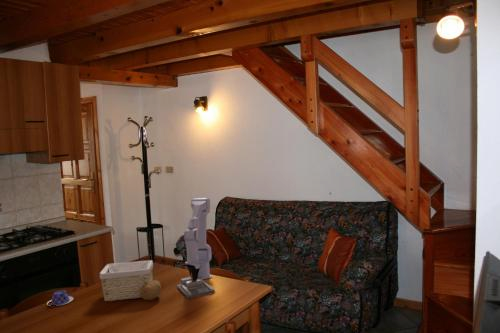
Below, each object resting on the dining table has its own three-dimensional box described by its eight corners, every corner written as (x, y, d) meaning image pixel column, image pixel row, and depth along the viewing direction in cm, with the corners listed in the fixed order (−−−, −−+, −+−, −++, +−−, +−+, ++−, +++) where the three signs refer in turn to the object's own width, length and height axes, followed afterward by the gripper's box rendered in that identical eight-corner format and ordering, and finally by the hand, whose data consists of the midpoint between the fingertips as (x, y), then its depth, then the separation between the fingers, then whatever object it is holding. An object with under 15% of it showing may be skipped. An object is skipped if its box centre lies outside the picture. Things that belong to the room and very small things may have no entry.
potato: (166, 292, 202) (165, 277, 201) (156, 304, 188) (155, 287, 187) (147, 292, 203) (146, 277, 202) (136, 304, 189) (135, 287, 188)
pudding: (63, 308, 190) (62, 297, 190) (41, 307, 193) (40, 296, 192) (78, 297, 202) (77, 287, 202) (58, 297, 204) (57, 287, 204)
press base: (177, 287, 208) (176, 279, 208) (202, 282, 214) (202, 273, 214) (187, 299, 192) (186, 289, 192) (214, 292, 198) (214, 283, 198)
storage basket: (100, 303, 193) (98, 273, 192) (109, 290, 209) (106, 263, 208) (150, 298, 195) (148, 269, 194) (155, 286, 211) (153, 259, 210)
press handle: (186, 286, 203) (185, 272, 203) (201, 283, 207) (200, 269, 206) (187, 288, 201) (187, 273, 200) (203, 284, 204) (202, 270, 204)
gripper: (180, 250, 207) (182, 276, 208) (189, 257, 194) (191, 284, 195) (193, 248, 210) (195, 273, 211) (202, 254, 197) (204, 281, 198)
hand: (194, 278), depth 204 cm, fingers closed on press handle, 3 cm apart
